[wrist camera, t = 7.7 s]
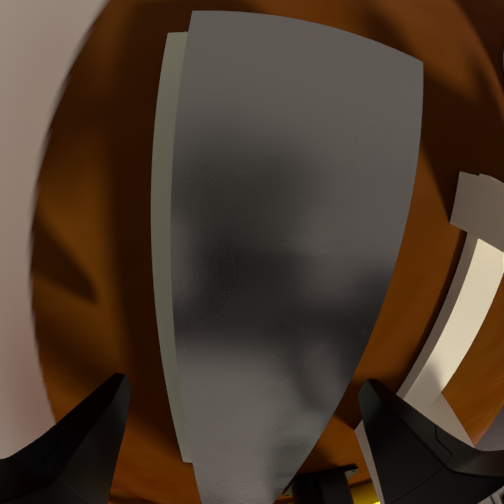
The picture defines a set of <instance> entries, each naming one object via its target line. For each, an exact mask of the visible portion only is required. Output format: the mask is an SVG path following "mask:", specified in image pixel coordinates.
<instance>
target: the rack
mask: <svg viewBox="0 0 504 504" xmlns="http://www.w3.org/2000/svg"><path fill="white" fill-rule="evenodd" d="M450 224H452V225H454V226H456V227H458V228H460V229H462V230H464V231H466V232H468V233H467V237H466V241H465V244H464V248H463V251H462V254H461V258H460V261H459V264H458V267H457V270H456V273H455V276H454V278H453V281H452V284H451V286H450V289H449V292H448V294H447V297H446V299H445V302H444V304H443V307H442V309H441V311H440V313H439V316H438V318H437V320H436V322H435V325H434V327H433V329H432V331H431V333H430V335H429V337H428V339H427V341H426V343H425V345H424V347H423V349H422V351H421V353H420V355H419V356H418V358H417V360H416V362H415V364H414V365H413V367H412V369H411V371H410V372H409V374H408V376H407V377H406V379H405V381H404V382H403V384H402V385H401V387H400V389H399V390H398V392H397V393H396V394H397V395H398V396H399V397H400V398H402V399H403V400H404V401H406V402H407V403H408V404H410V405H411V406H412V407H414V408H415V409H416V410H418V411H419V412H420V413H422V414H423V415H424V416H426V417H427V418H428V419H430V420H431V421H432V422H434V423H435V424H437V425H438V426H439V427H441V428H442V429H443V430H445V431H446V432H448V433H449V434H451V435H453V436H454V437H456V438H457V439H459V440H461V441H463V442H464V443H466V444H468V445H470V446H472V447H473V448H475V447H474V445H473V444H472V442H471V440H470V438H469V437H468V435H467V433H466V432H465V430H464V428H463V427H462V425H461V423H460V422H459V420H458V418H457V417H456V415H455V414H454V412H453V410H452V409H451V407H450V406H449V404H448V403H447V401H446V400H445V398H444V396H443V395H442V393H441V391H442V390H443V389H444V387H445V386H446V384H447V383H448V381H449V380H450V378H451V377H452V375H453V374H454V372H455V371H456V369H457V367H458V366H459V364H460V363H461V361H462V359H463V358H464V356H465V354H466V353H467V351H468V349H469V347H470V346H471V344H472V342H473V340H474V338H475V336H476V334H477V332H478V331H479V329H480V327H481V325H482V323H483V320H484V318H485V316H486V314H487V312H488V310H489V308H490V305H491V303H492V301H493V298H494V296H495V294H496V291H497V289H498V286H499V283H500V281H501V278H502V275H503V273H504V183H502V182H501V181H499V180H497V179H495V178H493V177H491V176H488V175H484V174H479V176H476V175H473V174H469V173H465V172H461V171H460V172H459V179H458V185H457V190H456V196H455V201H454V206H453V210H452V215H451V219H450ZM354 431H355V433H356V436H357V439H358V442H359V444H360V447H361V450H362V453H363V456H364V458H365V461H366V464H367V467H368V470H369V473H370V476H371V479H372V481H373V484H374V487H375V490H376V493H377V496H378V499H379V502H380V504H385V503H384V499H383V495H382V491H381V487H380V483H379V479H378V475H377V472H376V468H375V464H374V461H373V457H372V454H371V450H370V447H369V443H368V440H367V436H366V433H365V429H364V425H363V420H361V422H360V423H359V425H358V426H357V428H356V429H355V430H354Z"/></svg>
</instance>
